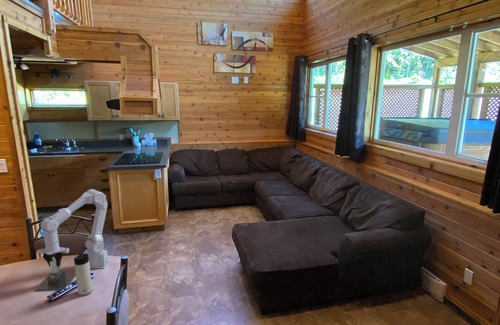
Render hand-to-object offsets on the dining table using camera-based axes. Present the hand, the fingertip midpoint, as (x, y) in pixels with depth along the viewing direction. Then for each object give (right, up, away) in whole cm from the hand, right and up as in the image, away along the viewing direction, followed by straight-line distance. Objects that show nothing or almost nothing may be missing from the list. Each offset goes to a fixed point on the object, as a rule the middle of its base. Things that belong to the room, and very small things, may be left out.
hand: (55, 265), depth 155 cm
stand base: (0, -9, +2) cm, 9 cm away
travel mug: (+19, -11, -6) cm, 23 cm away
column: (0, -7, +2) cm, 7 cm away
